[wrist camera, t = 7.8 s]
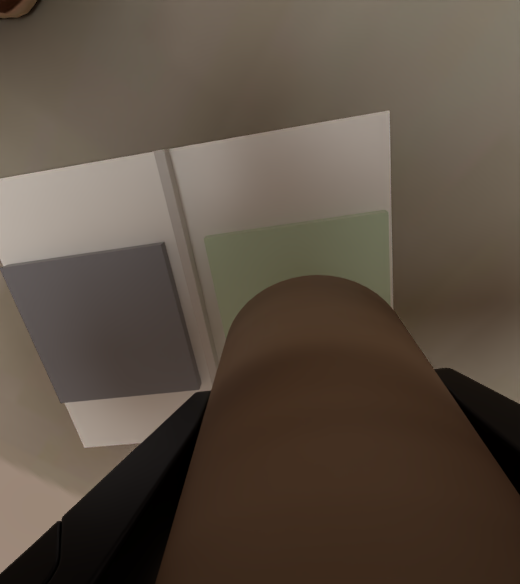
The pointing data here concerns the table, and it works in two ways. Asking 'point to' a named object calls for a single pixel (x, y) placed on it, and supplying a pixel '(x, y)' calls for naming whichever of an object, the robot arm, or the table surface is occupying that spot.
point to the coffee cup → (15, 7)
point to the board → (184, 257)
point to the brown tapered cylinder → (337, 457)
